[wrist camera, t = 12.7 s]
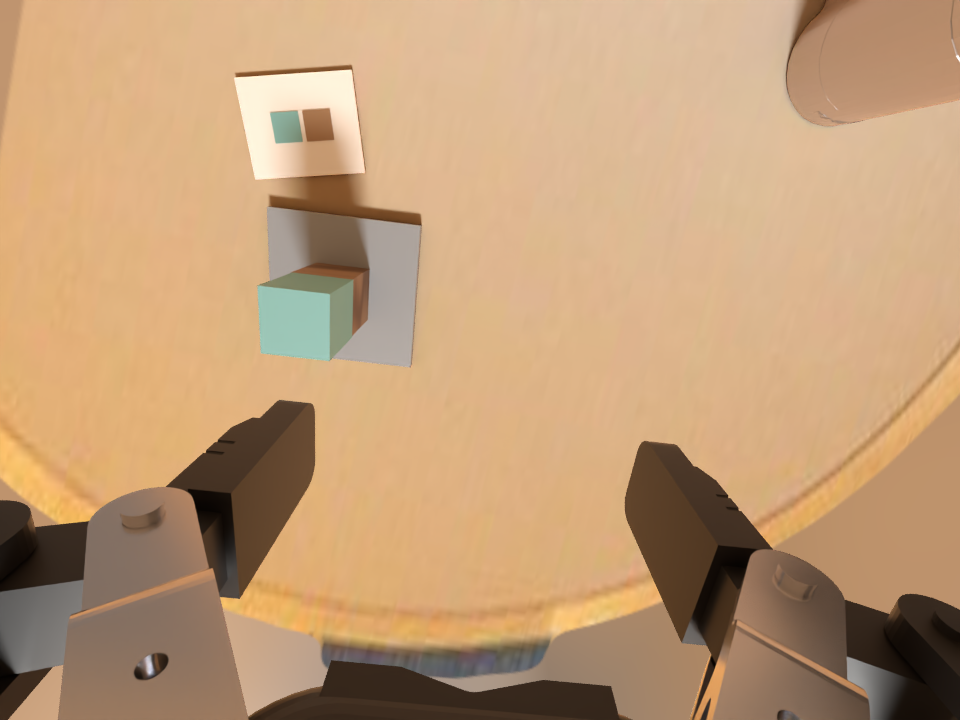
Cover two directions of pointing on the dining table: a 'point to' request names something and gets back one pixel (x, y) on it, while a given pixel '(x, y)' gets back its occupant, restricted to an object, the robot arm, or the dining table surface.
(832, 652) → the robot arm
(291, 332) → the teal brick
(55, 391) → the dining table surface
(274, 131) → the page
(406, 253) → the plate
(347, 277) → the walnut brick
